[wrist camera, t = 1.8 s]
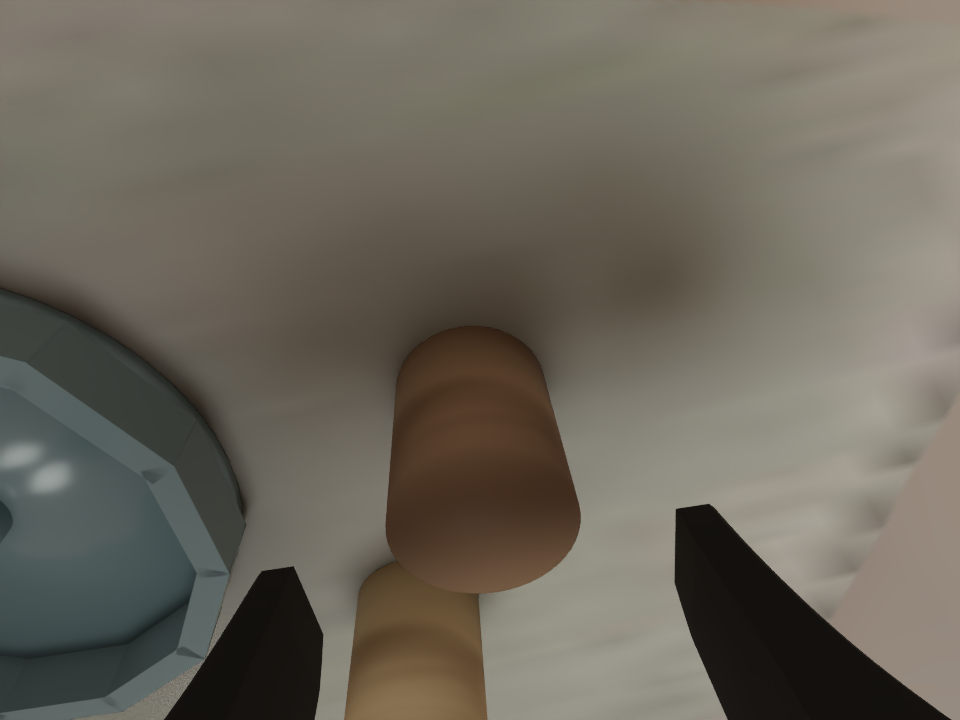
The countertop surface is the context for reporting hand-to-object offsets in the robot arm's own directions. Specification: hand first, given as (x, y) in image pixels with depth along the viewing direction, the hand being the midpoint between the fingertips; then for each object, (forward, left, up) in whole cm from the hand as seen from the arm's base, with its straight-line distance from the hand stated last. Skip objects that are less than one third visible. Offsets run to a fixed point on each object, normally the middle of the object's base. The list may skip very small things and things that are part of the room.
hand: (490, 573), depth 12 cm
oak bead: (-8, +3, -6) cm, 11 cm away
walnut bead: (0, 0, -6) cm, 6 cm away
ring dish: (-1, +14, -6) cm, 15 cm away
